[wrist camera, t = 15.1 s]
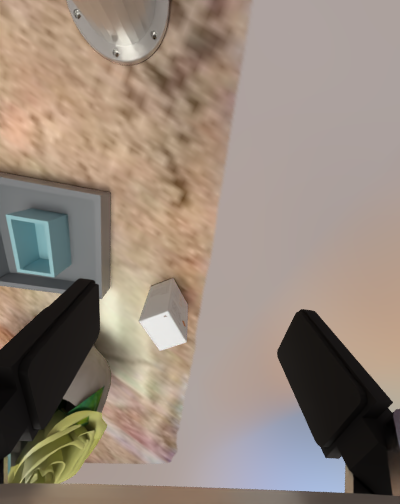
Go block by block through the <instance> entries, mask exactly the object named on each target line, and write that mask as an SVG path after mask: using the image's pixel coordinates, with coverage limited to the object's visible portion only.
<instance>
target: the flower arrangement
mask: <svg viewBox="0 0 400 504" xmlns="http://www.w3.org/2000/svg"><path fill="white" fill-rule="evenodd" d="M110 384H111V371H110V368H109V365H108V362H107V361H106V359H105V358H104V357H103V356H102V354H101V353H100V352H99V351H98V350H97V349H96V347H95V346H94V345H93V346H92V348H91V350H90V352H89V353H88V355H87V357H86V359H85V360H84V362H83V364H82V366H81V367H80V369H79V371H78V373H77V374H76V376H75V378H74V380H73V381H72V383H71V385H70V387H69V388H68V390H67V392H66V394H65V395H64V397H63V399H62V401H61V402H60V404H59V406H58V408H57V409H56V411H55V413H54V415H53V416H52V418H51V420H50V422H49V423H48V425H47V426H46V427H45V428H44V429H43V430H39V431H38V433H37V435H36V436H35V438H34V440H33V441H18V442H17V444H16V446H15V447H14V449H13V450H12V452H11V453H10V454H9V455H8V483H42V484H60V483H61V482H63V481H65V480H68V479H69V478H71V477H72V476H74V475H75V474H76V473H77V472H78V470H79V469H80V468H81V466H82V464H83V463H84V461H85V460H86V458H87V457H88V456H89V455H90V454H91V452H92V451H93V449H94V448H95V446H96V445H97V443H98V441H99V439H101V437H102V435H103V433H104V431H105V429H106V428H107V424H106V423H105V422H104V420H103V419H102V414H101V413H102V410H103V407H104V404H105V402H106V399H107V396H108V392H109V389H110Z"/></svg>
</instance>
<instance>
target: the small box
mask: <svg viewBox="0 0 400 504" xmlns="http://www.w3.org/2000/svg"><path fill="white" fill-rule="evenodd" d="M187 320H188V304H187V302H186V300H185V299H184V297H183V295H182V293H181V291H180V289H179V288H178V286H177V284H176V282H175V280H174V278H172V279H169V280H167V281H164V282H161V283H159V284H156V285H153V286H151V287H150V290H149V293H148V296H147V299H146V302H145V305H144V307H143V310H142V313H141V316H140V319H139V323H140V324H141V325H142V327H143V328H144V330H145V331H146V332H147V334H148V335H149V336H150V338H151V339H152V341H153V342H154V343H155V345H156V346H157V348H158V349H159V350H160V351H161V350H164V349H167V348H170V347H173V346H176V345H180V344H183V343H186V342H187Z"/></svg>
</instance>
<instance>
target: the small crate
mask: <svg viewBox="0 0 400 504" xmlns="http://www.w3.org/2000/svg"><path fill="white" fill-rule="evenodd" d="M6 219H7V224H8V229H9V234H10V239H11V244H12V249H13V254H14V259H15V264H16V268H17V272H21V273H28V274H35V275H42V276H49V277H56V276H57V275H58V274H60V273H61V272H62V271H63V270H65V269H66V268H67V267H69V266H70V265H71V264H72V263H71V250H70V237H69V223H68V215H67V214H61V213H56V212H50V211H44V210H39V209H33V208H30V209H26V210H22V211H18V212H14V213H9V214H6Z"/></svg>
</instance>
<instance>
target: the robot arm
mask: <svg viewBox="0 0 400 504" xmlns="http://www.w3.org/2000/svg"><path fill="white" fill-rule="evenodd" d="M66 1H67V5H68V8H69V11H70V13H71V16H72V18H73V21H74V22H75V24H76V26H77V28H78V29H79V31H80V33H81V34H82V35H83V37H84V38H85V39H86V41H87V42H88V43H89V44H90V45H91V47H92V48H93V49H94V50H95V51H96V52H98V53H99V54H100V55H101V56H102V57H104V58H106V59H108V60H109V61H111V62H114V63H117V64H120V65H133V64H138V63H140V62H142V61H145V60H146V59H147V58H149V57H150V56H151V55H153V53H154V52H155V51H156V50H157V48H158V47H159V45H160V43H161V41H162V40H163V38H164V35H165V32H166V29H167V24H168V18H169V0H66ZM79 18H80V19H79ZM154 37H156V39H155V40H153V38H154ZM118 54H119V56H118V57H117V55H118ZM99 332H100V313H99V285H98V284H95V281H94V280H91V279H83V278H79V279H77V280H76V281H75V282H74V283H73V284H72V285H71V286H70V287H69V288H68V289H67V290H66V291H65V292H64V293H63V294H62V295H60V296H59V297H58V298H57V299H56V300H55V301H54V302H53V303H52V304H51V305H50V306H49V307H47V308H45V309H44V310H43V311H41V312H40V313H39V314H38V315H37V316H36V317H35V318H34V319H33V320H32V321H31V322H30V323H29V324H27V325H26V326H25V327H24V328H23V329H22V330H21V331H20V332H19V333H18V334H17V335H16V336H15V337H14V338H12V339H11V340H10V341H9V342H8V343H7V344H6V345H5V346H4V347H3V348H2V349H1V350H0V504H400V409H396V410H395V411H394V412H393V413H392V412H391V411H390V410H389V409H388V407H389V406H390V405H391V404H392V403H393V402H392V401H391V400H390V398H389V397H388V396H387V395H386V394H385V392H384V391H383V390H382V389H381V388H380V387H379V385H378V384H377V383H376V382H375V381H374V380H373V378H372V377H371V376H370V375H369V374H368V373H367V372H366V370H365V369H364V368H363V367H362V366H361V364H360V363H359V362H358V361H357V360H356V359H355V357H354V356H353V355H352V354H351V353H350V352H349V350H348V349H347V348H346V347H345V346H344V345H343V343H342V342H341V341H340V340H339V339H338V338H337V336H336V335H335V334H334V333H333V332H332V331H331V329H330V328H329V327H328V326H327V325H326V324H325V322H324V321H323V320H322V319H321V318H320V317H319V315H318V314H317V313H316V312H315V311H311V310H304V309H303V310H302V309H301V310H300V311H299V312H297V313H296V314H295V316H294V318H293V320H292V322H291V324H290V326H289V328H288V330H287V332H286V334H285V337H284V338H283V340H282V342H281V345H280V347H279V349H278V352H277V355H278V359H279V361H280V363H281V366H282V368H283V370H284V372H285V375H286V377H287V379H288V381H289V384H290V386H291V388H292V390H293V392H294V394H295V397H296V399H297V401H298V403H299V406H300V408H301V410H302V413H303V415H304V417H305V419H306V421H307V424H308V426H309V428H310V430H311V433H312V435H313V437H314V439H315V441H316V443H317V444H318V445H319V446H320V447H321V449H322V451H323V453H324V455H325V457H326V458H337V459H338V458H340V457H341V456H342V457H343V459H344V461H345V463H346V466H345V470H346V471H345V493H332V492H309V491H285V490H258V489H229V488H202V487H171V486H137V485H105V484H104V485H102V484H42V483H8V455H9V454H10V453H11V452H12V450H13V449H14V447H15V446H16V444H17V442H18V441H33V440H34V438H35V436H36V435H37V433H38V431H39V430H43V429H44V428H45V427H46V426H47V425H48V423H49V422H50V420H51V418H52V416H53V415H54V413H55V411H56V409H57V408H58V406H59V404H60V402H61V401H62V399H63V397H64V395H65V394H66V392H67V390H68V388H69V387H70V385H71V383H72V381H73V380H74V378H75V376H76V374H77V373H78V371H79V369H80V367H81V366H82V364H83V362H84V360H85V359H86V357H87V355H88V353H89V352H90V350H91V348H92V346H93V345H94V343H95V341H96V339H97V338H98V335H99Z"/></svg>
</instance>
